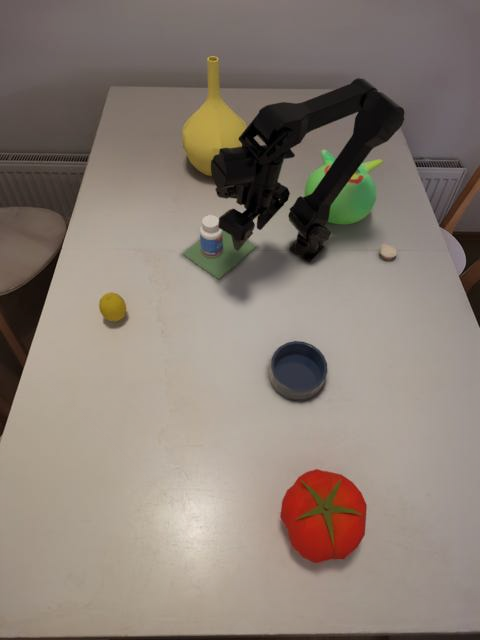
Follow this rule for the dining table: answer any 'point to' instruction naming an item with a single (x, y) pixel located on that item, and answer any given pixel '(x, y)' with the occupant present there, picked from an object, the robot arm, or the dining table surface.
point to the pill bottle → (211, 237)
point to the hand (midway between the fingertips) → (248, 238)
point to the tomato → (324, 516)
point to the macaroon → (388, 252)
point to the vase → (211, 125)
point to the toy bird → (348, 191)
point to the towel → (224, 260)
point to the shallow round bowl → (298, 370)
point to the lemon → (112, 306)
